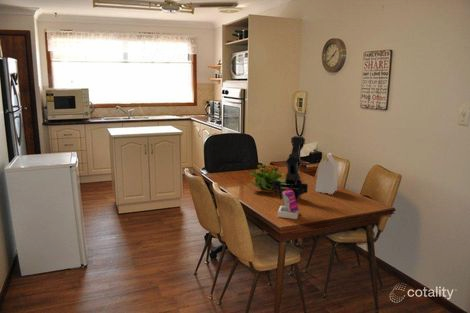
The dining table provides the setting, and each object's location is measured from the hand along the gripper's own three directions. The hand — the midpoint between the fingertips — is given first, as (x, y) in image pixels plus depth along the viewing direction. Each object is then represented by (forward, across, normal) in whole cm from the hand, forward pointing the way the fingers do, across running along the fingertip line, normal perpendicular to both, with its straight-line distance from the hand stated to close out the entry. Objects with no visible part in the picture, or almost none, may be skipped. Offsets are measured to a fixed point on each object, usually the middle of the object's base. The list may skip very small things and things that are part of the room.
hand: (288, 199), depth 198 cm
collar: (+5, 0, +8) cm, 9 cm away
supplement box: (+3, +3, +7) cm, 8 cm away
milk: (-36, +20, +46) cm, 62 cm away
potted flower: (-26, -19, +37) cm, 49 cm away
